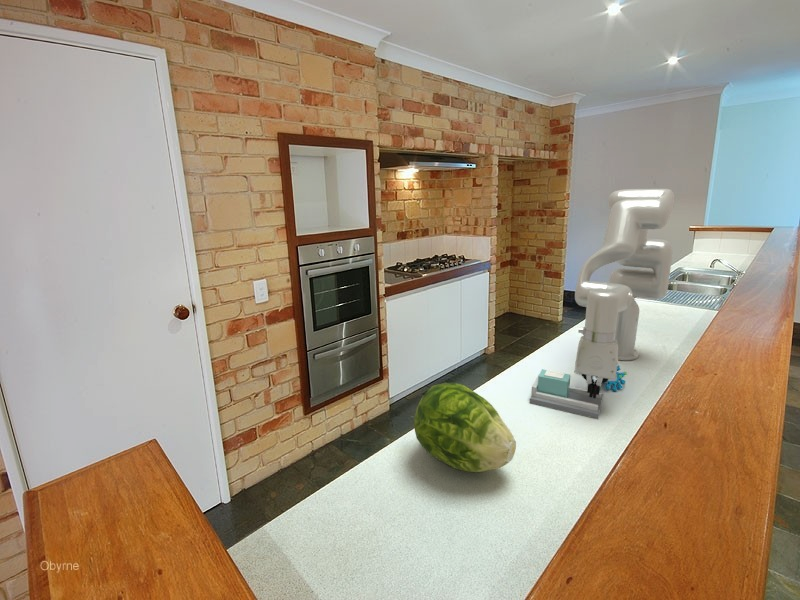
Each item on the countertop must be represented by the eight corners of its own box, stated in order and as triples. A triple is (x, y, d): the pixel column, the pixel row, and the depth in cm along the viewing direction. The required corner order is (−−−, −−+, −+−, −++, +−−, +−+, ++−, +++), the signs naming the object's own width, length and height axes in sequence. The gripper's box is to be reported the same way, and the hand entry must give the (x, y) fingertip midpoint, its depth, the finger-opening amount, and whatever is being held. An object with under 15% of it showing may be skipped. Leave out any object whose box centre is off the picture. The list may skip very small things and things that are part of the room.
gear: (602, 389, 118) (592, 358, 123) (590, 395, 123) (581, 365, 128) (634, 389, 121) (623, 358, 126) (621, 395, 126) (611, 365, 131)
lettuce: (492, 509, 79) (495, 427, 74) (400, 463, 93) (396, 392, 88) (527, 460, 92) (531, 388, 87) (442, 426, 106) (441, 362, 101)
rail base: (539, 385, 126) (539, 372, 125) (602, 398, 117) (604, 384, 116) (529, 403, 116) (530, 389, 115) (598, 419, 107) (599, 404, 106)
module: (540, 387, 122) (542, 368, 120) (568, 393, 118) (570, 373, 116) (537, 394, 118) (538, 374, 116) (566, 400, 114) (567, 380, 112)
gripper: (567, 335, 108) (562, 395, 113) (630, 344, 100) (622, 408, 105) (571, 326, 114) (566, 384, 119) (631, 334, 106) (623, 395, 112)
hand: (592, 395), depth 112 cm, fingers closed
